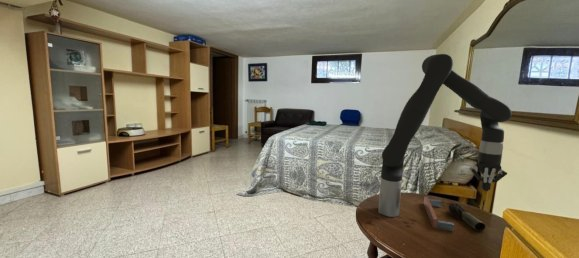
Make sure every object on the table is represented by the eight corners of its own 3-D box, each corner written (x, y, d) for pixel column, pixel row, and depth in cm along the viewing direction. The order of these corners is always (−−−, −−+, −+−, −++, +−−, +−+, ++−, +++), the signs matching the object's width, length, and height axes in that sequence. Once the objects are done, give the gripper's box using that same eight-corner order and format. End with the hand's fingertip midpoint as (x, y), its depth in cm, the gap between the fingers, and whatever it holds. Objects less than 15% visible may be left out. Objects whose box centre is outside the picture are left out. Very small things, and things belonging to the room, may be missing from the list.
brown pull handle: (432, 227, 101) (433, 219, 101) (423, 203, 123) (424, 196, 123) (453, 231, 99) (454, 222, 98) (440, 206, 121) (441, 198, 120)
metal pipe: (485, 231, 99) (487, 219, 98) (469, 232, 99) (471, 219, 98) (455, 210, 116) (456, 200, 116) (442, 210, 116) (443, 200, 115)
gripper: (474, 152, 99) (469, 191, 101) (514, 155, 94) (508, 196, 97) (468, 148, 106) (464, 185, 108) (505, 151, 101) (500, 189, 103)
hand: (485, 190), depth 102 cm, fingers closed
